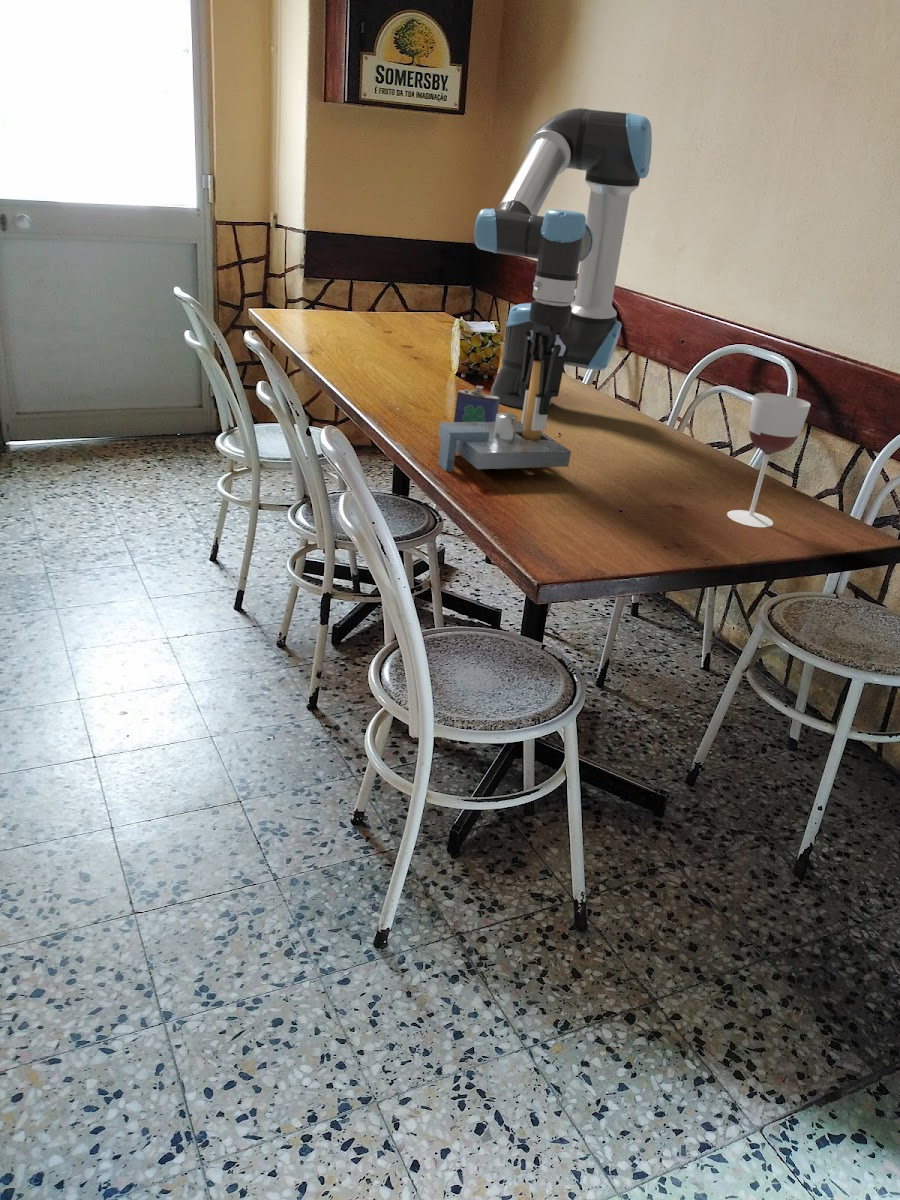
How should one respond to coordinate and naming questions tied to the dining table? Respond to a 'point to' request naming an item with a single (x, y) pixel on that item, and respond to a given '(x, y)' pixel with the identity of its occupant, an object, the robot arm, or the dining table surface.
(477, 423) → the grey plate
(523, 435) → the light orange cylinder
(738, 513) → the wineglass
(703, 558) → the dining table surface
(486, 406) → the flask
